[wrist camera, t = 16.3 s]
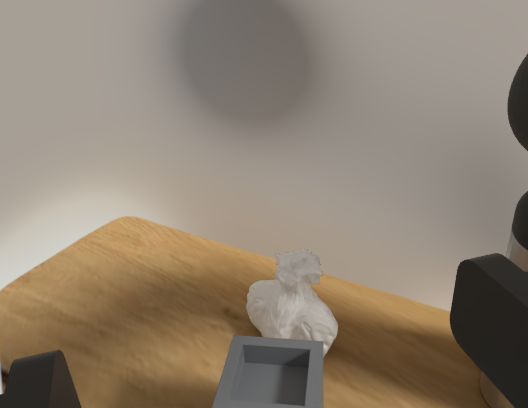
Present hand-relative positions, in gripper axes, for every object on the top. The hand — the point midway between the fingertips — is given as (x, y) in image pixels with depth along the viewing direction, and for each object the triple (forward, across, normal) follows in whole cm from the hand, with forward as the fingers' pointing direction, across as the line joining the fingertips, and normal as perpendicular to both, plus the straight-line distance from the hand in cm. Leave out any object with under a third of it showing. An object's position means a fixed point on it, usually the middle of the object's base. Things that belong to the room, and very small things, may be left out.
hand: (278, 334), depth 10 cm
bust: (+32, -10, +32) cm, 47 cm away
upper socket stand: (+19, -4, +32) cm, 37 cm away
